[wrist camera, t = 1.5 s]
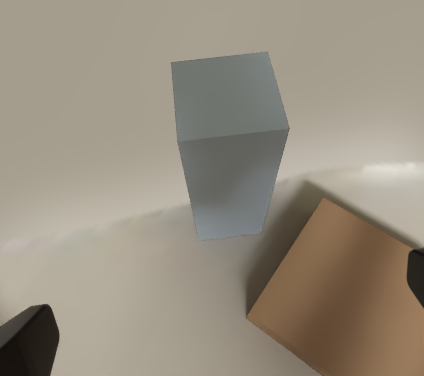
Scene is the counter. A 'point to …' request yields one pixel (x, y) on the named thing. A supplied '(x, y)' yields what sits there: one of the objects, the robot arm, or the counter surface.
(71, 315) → the counter surface
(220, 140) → the slate pillar
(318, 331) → the walnut base block
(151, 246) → the counter surface
